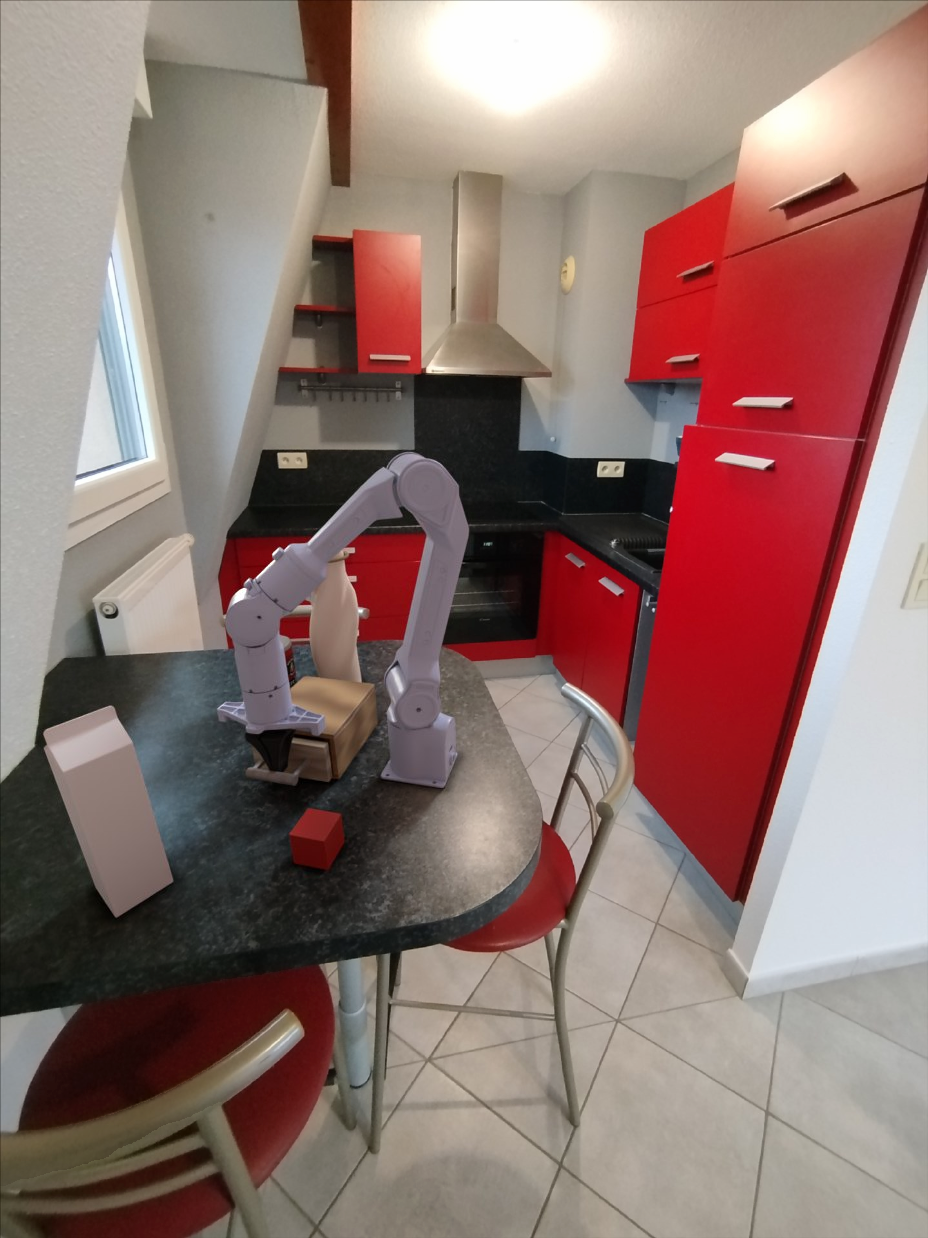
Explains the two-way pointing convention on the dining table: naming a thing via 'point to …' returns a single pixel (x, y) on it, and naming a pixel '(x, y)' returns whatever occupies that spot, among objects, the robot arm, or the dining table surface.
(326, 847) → the block
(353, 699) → the cabinet
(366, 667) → the dining table surface
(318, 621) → the water bottle
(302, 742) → the drawer
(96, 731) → the milk
